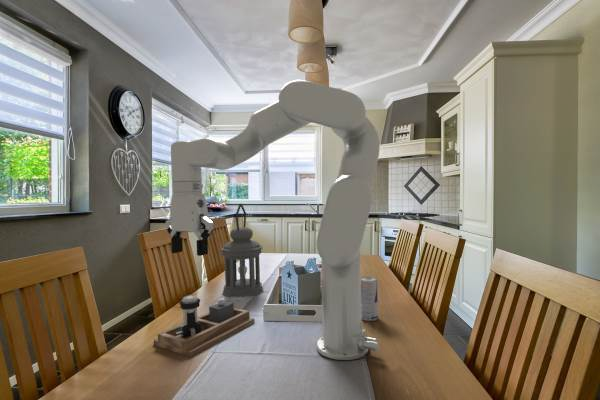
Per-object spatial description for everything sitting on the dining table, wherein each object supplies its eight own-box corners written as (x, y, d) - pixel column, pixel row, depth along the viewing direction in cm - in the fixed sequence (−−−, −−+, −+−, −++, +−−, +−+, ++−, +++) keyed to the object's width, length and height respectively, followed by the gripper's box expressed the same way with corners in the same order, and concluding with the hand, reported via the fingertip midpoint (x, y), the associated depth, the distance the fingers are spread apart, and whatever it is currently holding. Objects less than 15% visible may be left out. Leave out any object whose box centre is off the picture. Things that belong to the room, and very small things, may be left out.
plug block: (234, 319, 100) (233, 297, 100) (219, 326, 95) (218, 303, 95) (224, 317, 102) (223, 295, 102) (209, 324, 97) (208, 301, 97)
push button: (180, 342, 85) (179, 303, 85) (172, 335, 89) (171, 298, 89) (204, 334, 90) (203, 297, 90) (195, 328, 94) (194, 293, 94)
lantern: (261, 297, 125) (258, 203, 125) (216, 298, 125) (213, 204, 125) (266, 284, 142) (264, 202, 141) (227, 285, 142) (224, 203, 142)
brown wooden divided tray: (254, 322, 100) (254, 312, 100) (190, 357, 80) (190, 343, 80) (220, 314, 107) (219, 305, 107) (153, 344, 87) (153, 332, 87)
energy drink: (379, 316, 103) (378, 277, 103) (375, 322, 98) (375, 281, 98) (362, 314, 105) (361, 276, 105) (358, 320, 100) (357, 280, 100)
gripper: (221, 187, 87) (223, 253, 87) (177, 189, 96) (179, 249, 96) (199, 187, 80) (201, 258, 81) (153, 190, 89) (156, 253, 90)
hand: (189, 253), depth 88 cm, fingers open, 9 cm apart
